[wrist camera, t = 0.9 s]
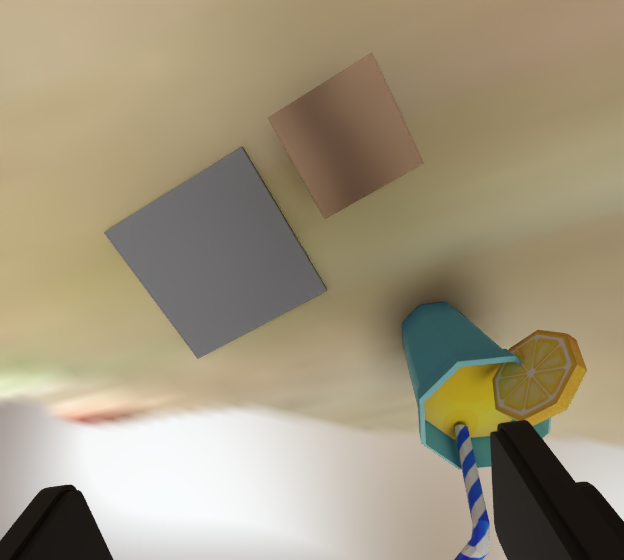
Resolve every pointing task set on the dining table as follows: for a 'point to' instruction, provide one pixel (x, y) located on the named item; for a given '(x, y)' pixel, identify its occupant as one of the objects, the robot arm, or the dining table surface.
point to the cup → (482, 393)
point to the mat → (217, 255)
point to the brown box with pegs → (347, 137)
